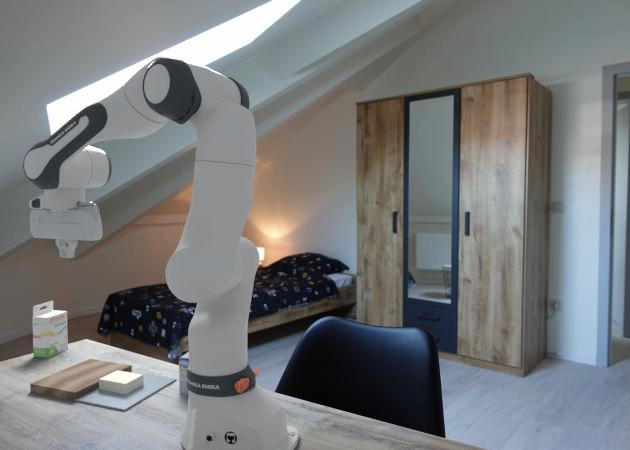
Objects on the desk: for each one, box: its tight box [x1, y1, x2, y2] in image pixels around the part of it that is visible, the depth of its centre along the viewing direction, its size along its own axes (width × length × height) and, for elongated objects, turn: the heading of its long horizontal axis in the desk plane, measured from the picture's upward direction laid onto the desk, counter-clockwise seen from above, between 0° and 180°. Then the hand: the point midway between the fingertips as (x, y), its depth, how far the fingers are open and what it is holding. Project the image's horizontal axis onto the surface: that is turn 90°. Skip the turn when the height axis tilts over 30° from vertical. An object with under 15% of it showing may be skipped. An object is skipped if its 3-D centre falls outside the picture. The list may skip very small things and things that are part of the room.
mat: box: [74, 370, 177, 412], centre depth 114 cm, size 14×18×1 cm
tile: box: [99, 370, 144, 394], centre depth 115 cm, size 8×6×2 cm
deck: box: [29, 358, 133, 402], centre depth 119 cm, size 14×18×2 cm
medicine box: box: [178, 351, 189, 395], centre depth 115 cm, size 8×4×9 cm, turn 168°
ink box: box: [32, 300, 69, 359], centre depth 140 cm, size 9×5×15 cm, turn 168°
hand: (67, 257), depth 118 cm, fingers closed
